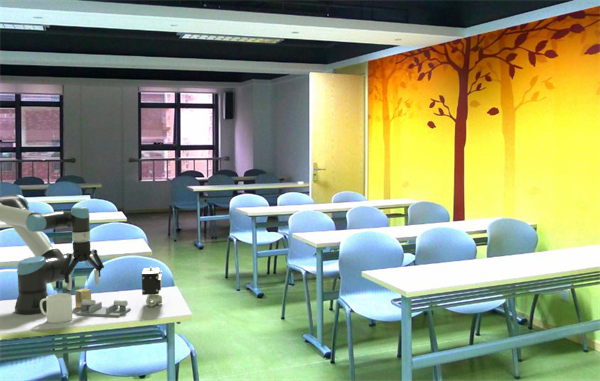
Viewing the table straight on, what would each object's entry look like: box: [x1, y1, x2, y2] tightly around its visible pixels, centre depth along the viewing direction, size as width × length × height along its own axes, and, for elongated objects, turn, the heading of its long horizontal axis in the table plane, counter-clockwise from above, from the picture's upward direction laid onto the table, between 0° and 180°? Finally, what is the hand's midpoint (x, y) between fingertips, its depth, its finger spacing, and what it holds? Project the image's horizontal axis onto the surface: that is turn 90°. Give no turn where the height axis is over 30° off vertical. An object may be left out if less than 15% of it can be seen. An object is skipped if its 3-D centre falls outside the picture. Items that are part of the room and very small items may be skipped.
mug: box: [40, 292, 73, 324], centre depth 250 cm, size 13×10×10 cm
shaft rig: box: [75, 299, 131, 318], centre depth 261 cm, size 20×11×5 cm, turn 79°
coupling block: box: [74, 287, 92, 310], centre depth 270 cm, size 5×5×8 cm
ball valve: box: [141, 266, 163, 307], centre depth 273 cm, size 18×8×18 cm, turn 11°
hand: (83, 287), depth 270 cm, fingers open, 13 cm apart
